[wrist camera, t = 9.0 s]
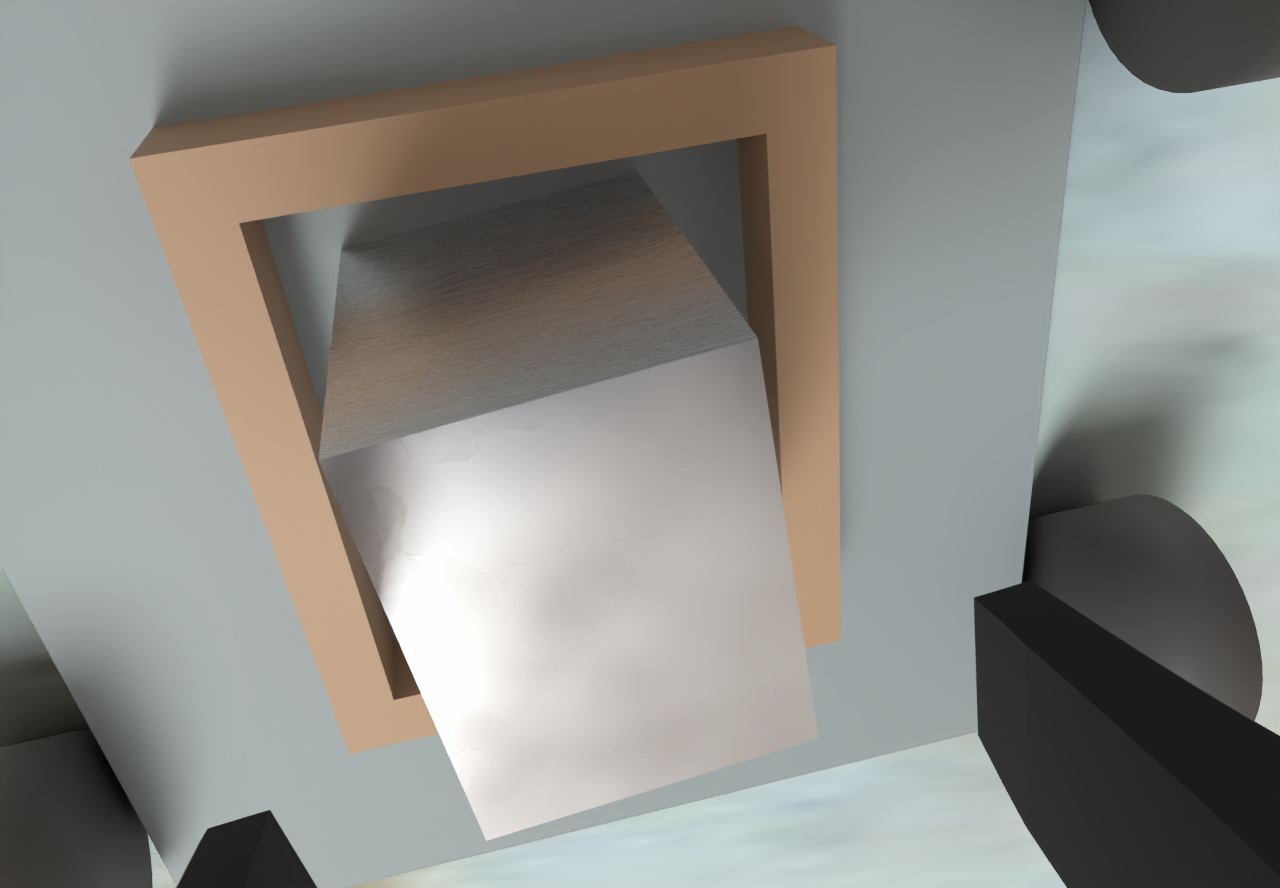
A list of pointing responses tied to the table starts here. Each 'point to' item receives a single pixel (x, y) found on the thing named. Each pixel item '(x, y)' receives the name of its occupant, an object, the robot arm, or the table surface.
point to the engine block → (567, 499)
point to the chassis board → (483, 180)
